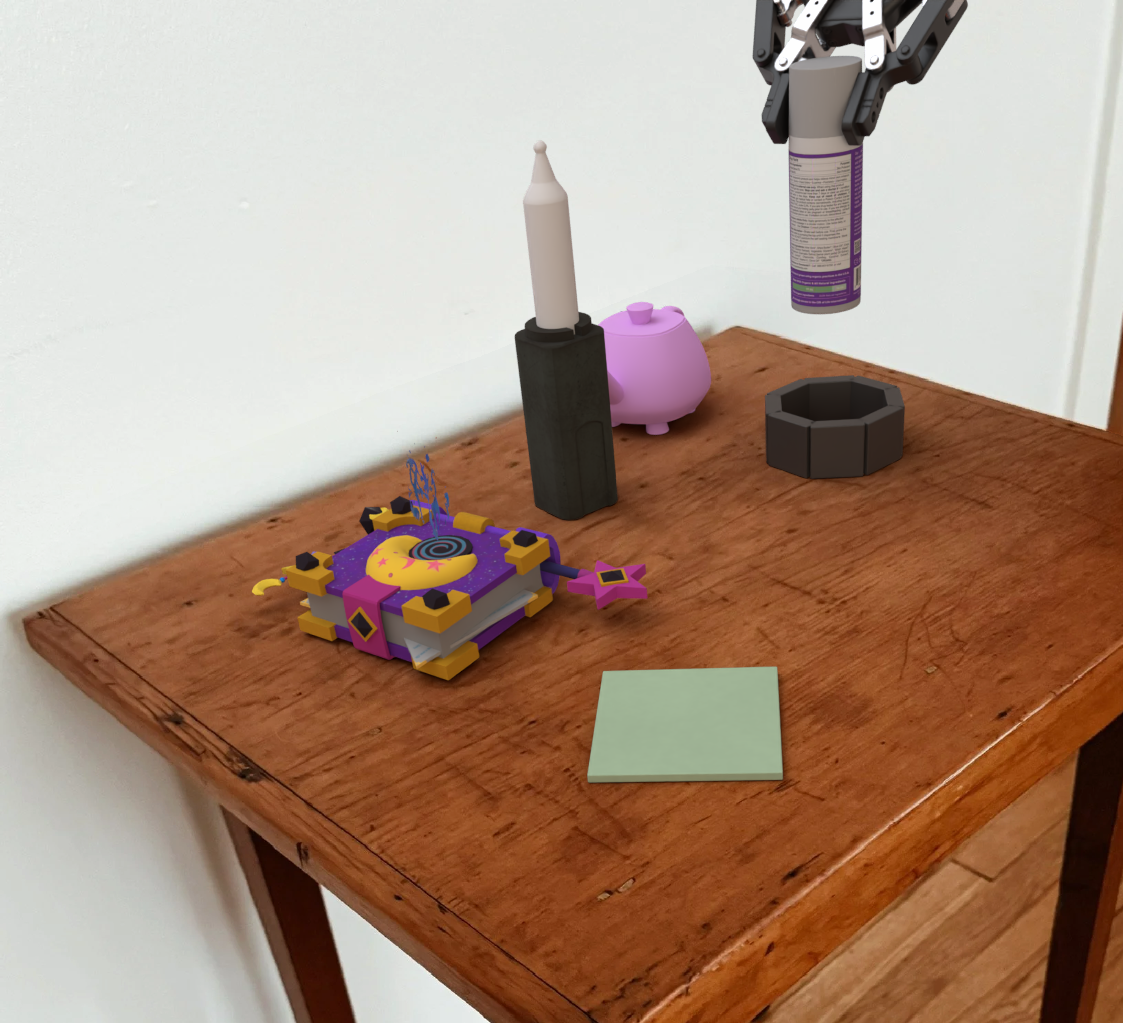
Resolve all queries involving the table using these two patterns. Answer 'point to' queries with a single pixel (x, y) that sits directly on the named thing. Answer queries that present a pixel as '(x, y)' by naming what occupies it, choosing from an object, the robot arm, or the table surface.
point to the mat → (687, 726)
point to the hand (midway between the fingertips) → (812, 136)
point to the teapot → (653, 366)
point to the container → (824, 187)
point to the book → (438, 583)
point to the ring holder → (834, 426)
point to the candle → (562, 366)
